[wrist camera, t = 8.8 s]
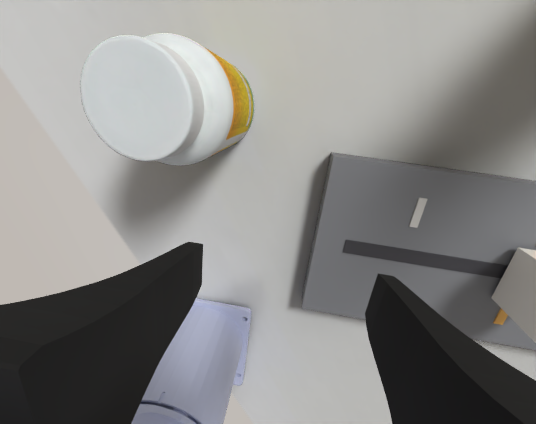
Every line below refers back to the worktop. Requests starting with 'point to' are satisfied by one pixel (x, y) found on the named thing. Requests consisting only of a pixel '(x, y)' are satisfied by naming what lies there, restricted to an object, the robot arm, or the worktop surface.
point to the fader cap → (519, 291)
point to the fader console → (420, 241)
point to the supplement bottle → (164, 98)
